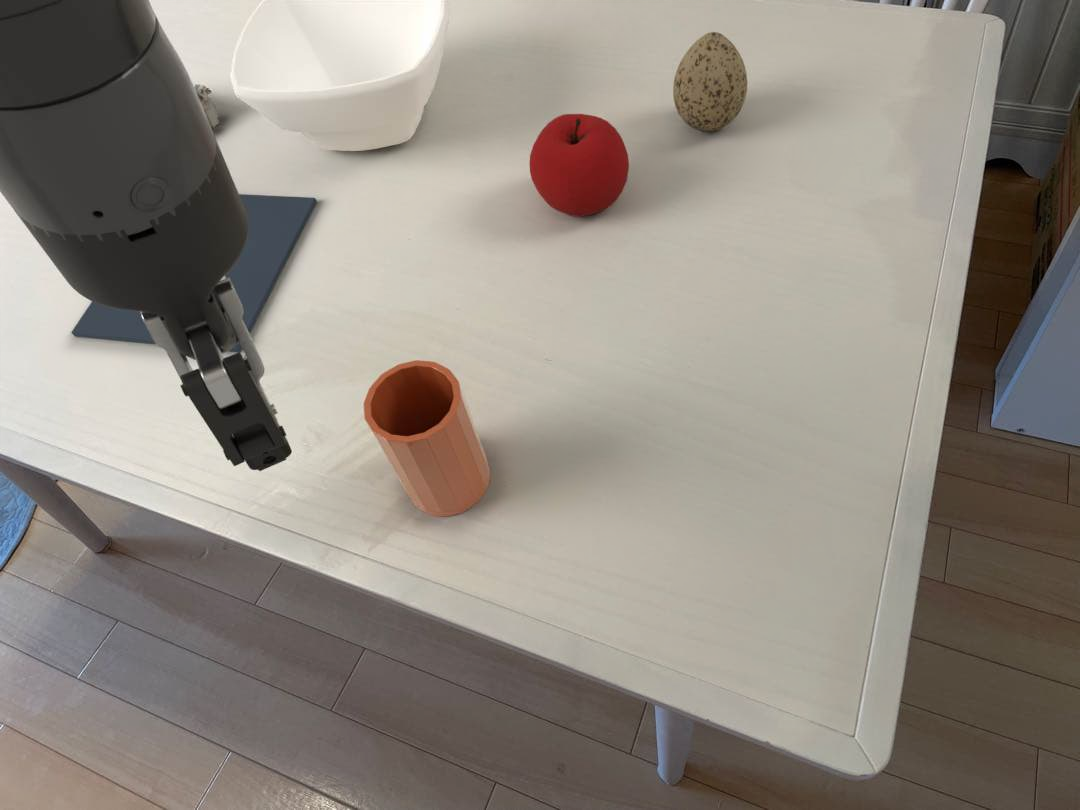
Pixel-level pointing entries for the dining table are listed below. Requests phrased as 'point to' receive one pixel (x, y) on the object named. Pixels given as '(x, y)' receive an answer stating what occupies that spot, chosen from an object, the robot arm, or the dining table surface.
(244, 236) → the robot arm
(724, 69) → the decorative egg
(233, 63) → the bowl
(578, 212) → the apple
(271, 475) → the dining table surface
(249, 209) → the mat
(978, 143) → the dining table surface
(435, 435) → the cup
